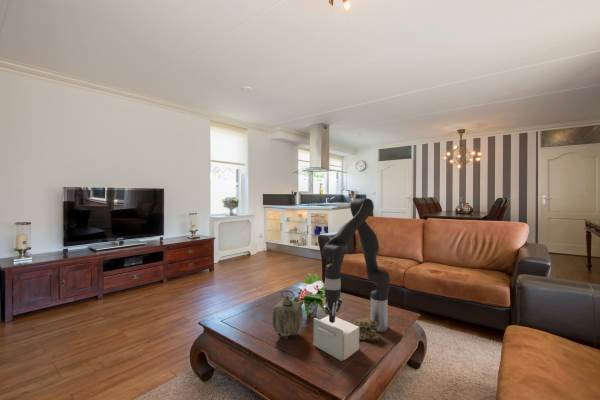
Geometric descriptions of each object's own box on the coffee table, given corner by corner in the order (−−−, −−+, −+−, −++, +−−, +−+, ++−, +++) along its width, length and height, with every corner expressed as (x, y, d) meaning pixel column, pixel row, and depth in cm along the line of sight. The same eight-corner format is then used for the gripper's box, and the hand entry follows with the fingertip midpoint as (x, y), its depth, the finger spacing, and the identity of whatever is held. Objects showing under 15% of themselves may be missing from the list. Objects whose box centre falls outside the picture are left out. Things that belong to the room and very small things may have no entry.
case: (330, 336, 146) (330, 314, 145) (359, 351, 133) (359, 326, 132) (314, 345, 137) (314, 322, 137) (344, 362, 124) (344, 336, 124)
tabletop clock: (302, 335, 147) (302, 289, 146) (298, 344, 138) (298, 295, 137) (276, 331, 151) (276, 286, 149) (271, 340, 142) (271, 292, 141)
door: (314, 344, 137) (314, 317, 136) (342, 359, 124) (343, 330, 124) (311, 346, 135) (311, 319, 134) (339, 362, 123) (340, 332, 122)
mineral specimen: (350, 343, 139) (350, 324, 139) (349, 330, 152) (349, 313, 152) (380, 346, 138) (380, 326, 137) (375, 332, 150) (376, 314, 150)
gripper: (335, 281, 139) (334, 315, 139) (317, 287, 129) (316, 324, 130) (347, 285, 133) (346, 320, 134) (329, 292, 124) (329, 329, 125)
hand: (332, 322), depth 132 cm, fingers closed
